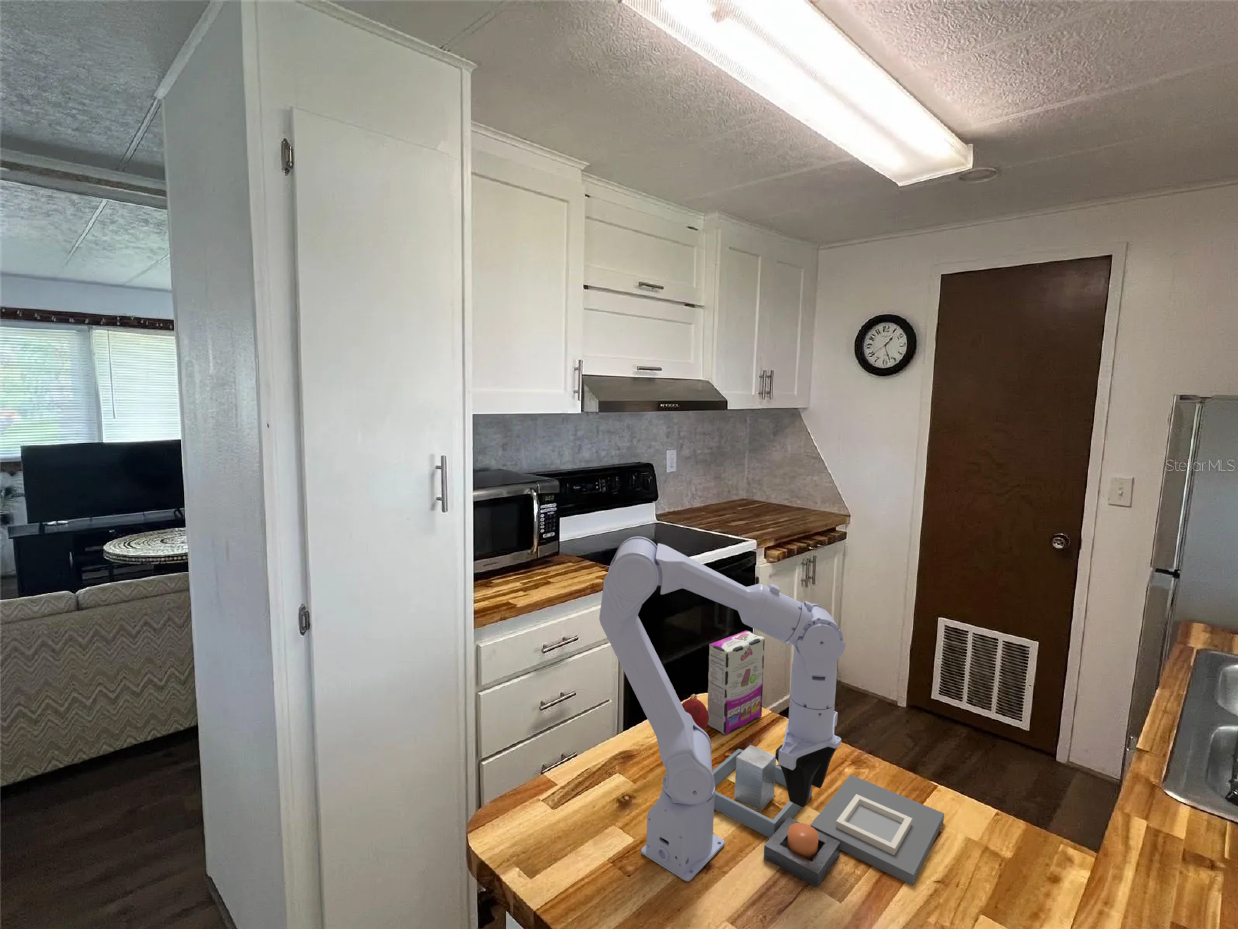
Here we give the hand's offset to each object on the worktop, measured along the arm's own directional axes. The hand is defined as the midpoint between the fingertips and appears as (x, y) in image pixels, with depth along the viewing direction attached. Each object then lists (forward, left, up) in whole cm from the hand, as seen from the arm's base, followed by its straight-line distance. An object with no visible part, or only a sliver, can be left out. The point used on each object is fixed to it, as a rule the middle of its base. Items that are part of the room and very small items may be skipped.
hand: (805, 793), depth 85 cm
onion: (+15, +28, -10) cm, 33 cm away
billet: (+7, +11, -10) cm, 16 cm away
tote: (+7, +11, -9) cm, 16 cm away
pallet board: (+13, -6, -9) cm, 17 cm away
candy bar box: (+25, +25, -10) cm, 37 cm away
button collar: (0, 0, -9) cm, 9 cm away
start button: (0, 0, -8) cm, 8 cm away
